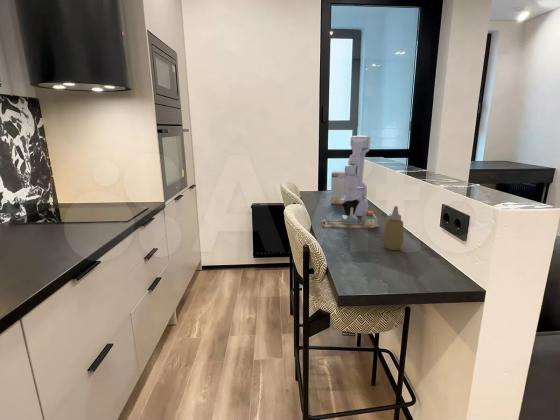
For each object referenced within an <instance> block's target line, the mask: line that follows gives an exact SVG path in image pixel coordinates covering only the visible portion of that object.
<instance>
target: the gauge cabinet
mask: <svg viewBox="0 0 560 420" xmlns="http://www.w3.org/2000/svg"><path fill="white" fill-rule="evenodd" d="M366 215H367V214H362V216H361V221H362V222H363V223H364V225H371V226H377V224H378V217H377V216H376V214H375V213H374V214H373V217H366Z"/></svg>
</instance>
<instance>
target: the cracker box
mask: <svg viewBox="0 0 560 420" xmlns="http://www.w3.org/2000/svg"><path fill="white" fill-rule="evenodd" d="M330 179H331V181H330V205H338V206H343V205H342V203H339V200H340V199H341V198H343V197H344V196H345V185H346V180H345V171H336V170H335V171H332V172H331V178H330Z"/></svg>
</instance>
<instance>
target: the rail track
mask: <svg viewBox="0 0 560 420" xmlns="http://www.w3.org/2000/svg"><path fill="white" fill-rule="evenodd" d="M321 226H322V228H338V229H339V228H347V229H348V228H358V229H359V228H360V229H362V228H363V229H366V228H367V229H369V228H370V229H374V227H379V228H380V225H379V223H377V226H371V225H364V223H363V222H362V219H358V224H344V222H343V220H342V219H326V218H322V220H321Z"/></svg>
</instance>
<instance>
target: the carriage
mask: <svg viewBox="0 0 560 420" xmlns="http://www.w3.org/2000/svg"><path fill="white" fill-rule="evenodd" d="M341 220H343V222H344V224H358V220H359V218H358V216H356V215H353V207H351V210H350V216H347V215H346V214H342V215H341Z"/></svg>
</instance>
